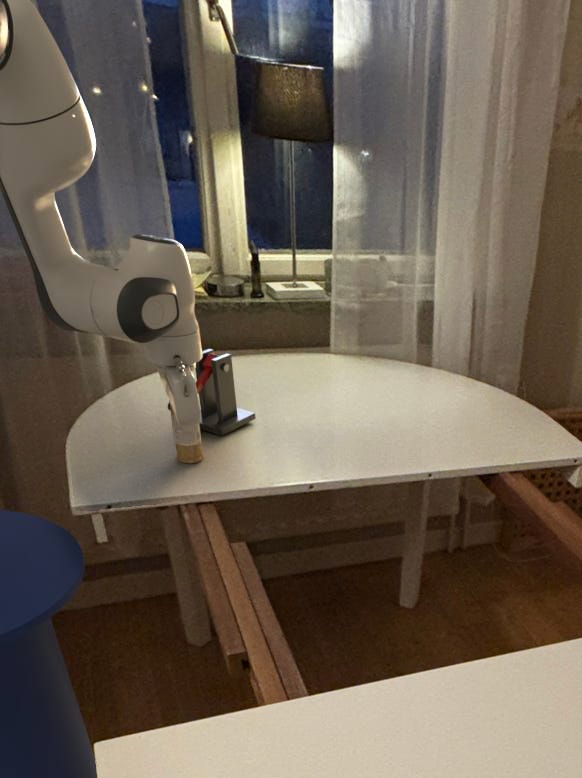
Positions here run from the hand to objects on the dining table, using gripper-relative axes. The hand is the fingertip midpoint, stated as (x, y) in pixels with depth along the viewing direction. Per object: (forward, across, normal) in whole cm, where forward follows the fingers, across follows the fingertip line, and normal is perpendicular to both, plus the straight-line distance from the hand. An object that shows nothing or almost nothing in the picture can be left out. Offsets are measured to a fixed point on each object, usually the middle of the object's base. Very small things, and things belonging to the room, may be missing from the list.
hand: (184, 428), depth 131 cm
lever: (-2, +13, -5) cm, 14 cm away
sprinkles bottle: (+6, 0, 0) cm, 6 cm away
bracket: (+6, +15, -8) cm, 18 cm away
